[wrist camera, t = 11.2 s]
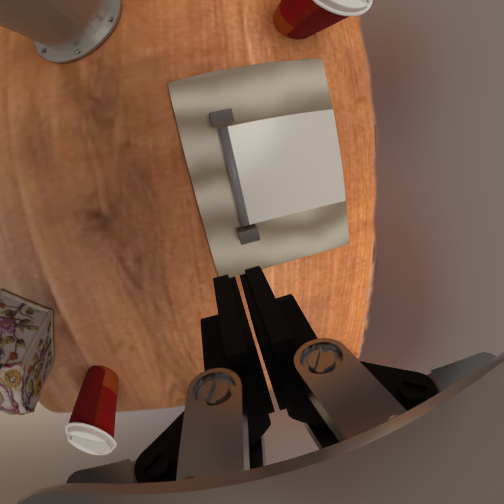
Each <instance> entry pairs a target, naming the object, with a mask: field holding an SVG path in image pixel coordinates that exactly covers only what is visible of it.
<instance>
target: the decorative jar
mask: <svg viewBox="0 0 504 504" xmlns="http://www.w3.org/2000/svg"><path fill="white" fill-rule="evenodd" d="M54 357H55V355H54V335H53V310H51V309H48V308H46V307H43V306H40V305H38V304H35V303H33V302H31V301H28V300H26V299H23V298H21V297H19V296H16V295H14V294H11V293H9V292H7V291H4V290H2V289H1V290H0V411H2V412H4V413H6V414H9V415H14V414H15V415H16V414H19V415H24V414H27V413H31V412H34V409H35V407H36V404H37V402H38V399H39V397H40V394H41V391H42V389H43V386H44V384H45V381H46V379H47V376H48V374H49V371H50V369H51V366H52V363H53V361H54Z"/></svg>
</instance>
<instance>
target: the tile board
mask: <svg viewBox="0 0 504 504" xmlns="http://www.w3.org/2000/svg"><path fill="white" fill-rule="evenodd" d="M168 87H169V92H170V96H171V100H172V105H173V109H174V113H175V117H176V122H177V126H178V130H179V134H180V138H181V142H182V146H183V150H184V154H185V158H186V162H187V166H188V169H189V173H190V177H191V181H192V185H193V188H194V192H195V196H196V199H197V203H198V207H199V210H200V214H201V218H202V221H203V225H204V228H205V232H206V235H207V239H208V242H209V246H210V249H211V253H212V256H213V259H214V263H215V266H216V270H217V273H218V276H219V277H220V276H223V275H227V274H228V276H229V278H231V277H234V276H238V275H242V274H245V269H249V268H252V267H256V266H260V267H261V269H263V268H267V267H271V266H274V265H278V264H281V263H285V262H288V261H292V260H295V259H299V258H302V257H306V256H309V255H313V254H316V253H320V252H323V251H327V250H330V249H334V248H337V247H340V246H344V245H347V244H349V235H348V222H347V211H346V201H343V202H339V203H334V204H330V205H326V206H322V207H318V208H314V209H310V210H306V211H302V212H298V213H294V214H290V215H286V216H282V217H278V218H274V219H270V220H266V221H262V222H258V223H255V224H251V225H248V226H241V224H240V219H239V215H238V211H237V207H236V202H235V198H234V194H233V190H232V185H231V181H230V177H229V173H228V168H227V164H226V160H225V155H224V151H223V147H222V143H221V138H220V134H219V130H218V129H219V128H224V127H228V126H233V125H237V124H242V123H247V122H252V121H257V120H262V119H268V118H273V117H279V116H286V115H292V114H299V113H306V112H313V111H322V110H330V109H332V103H331V98H330V93H329V88H328V83H327V78H326V74H325V69H324V65H323V61H322V58H318V59H301V60H289V61H279V62H270V63H262V64H255V65H248V66H242V67H236V68H230V69H225V70H220V71H215V72H210V73H205V74H201V75H197V76H192V77H188V78H184V79H181V80H177V81H173V82H169V83H168Z"/></svg>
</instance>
